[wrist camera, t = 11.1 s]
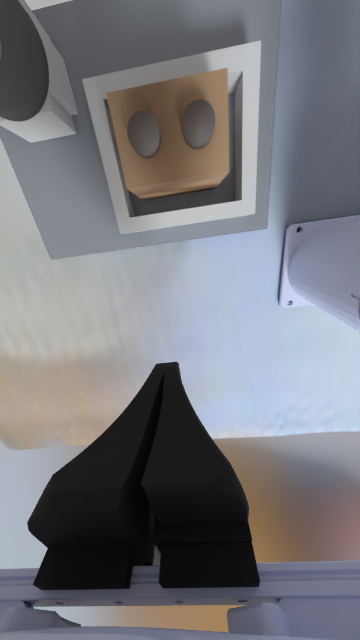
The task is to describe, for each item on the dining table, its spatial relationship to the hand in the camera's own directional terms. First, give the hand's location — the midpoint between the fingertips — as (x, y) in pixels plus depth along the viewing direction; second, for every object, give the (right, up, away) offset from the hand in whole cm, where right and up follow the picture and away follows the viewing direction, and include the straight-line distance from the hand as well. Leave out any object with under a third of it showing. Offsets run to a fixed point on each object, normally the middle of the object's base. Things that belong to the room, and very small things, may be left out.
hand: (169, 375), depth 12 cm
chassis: (-3, +17, +3) cm, 17 cm away
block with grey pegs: (0, +16, +3) cm, 16 cm away
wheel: (-9, +19, +1) cm, 21 cm away
